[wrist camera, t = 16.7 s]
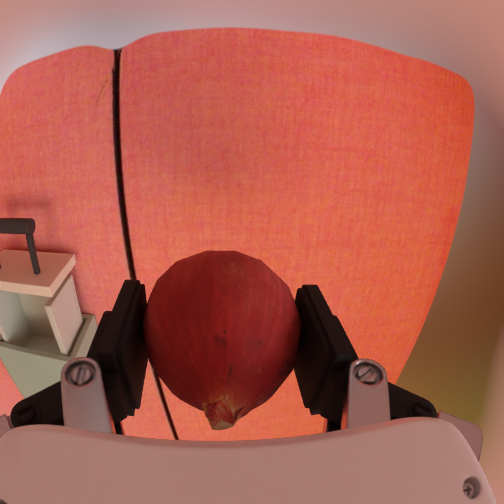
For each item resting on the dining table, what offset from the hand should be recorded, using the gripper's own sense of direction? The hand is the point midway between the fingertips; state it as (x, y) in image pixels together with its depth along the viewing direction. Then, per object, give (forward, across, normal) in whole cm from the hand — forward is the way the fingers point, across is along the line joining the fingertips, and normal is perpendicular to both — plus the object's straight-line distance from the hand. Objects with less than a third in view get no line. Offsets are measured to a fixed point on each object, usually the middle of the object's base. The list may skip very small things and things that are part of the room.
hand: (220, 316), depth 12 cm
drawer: (+18, +21, +11) cm, 30 cm away
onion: (+3, 0, 0) cm, 3 cm away
